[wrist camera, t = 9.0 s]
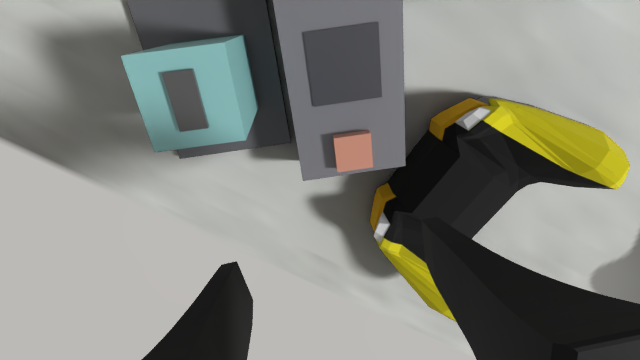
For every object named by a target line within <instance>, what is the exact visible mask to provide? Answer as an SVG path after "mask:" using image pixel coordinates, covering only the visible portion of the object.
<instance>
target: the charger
mask: <svg viewBox="0 0 640 360" xmlns="http://www.w3.org/2000/svg"><path fill="white" fill-rule="evenodd" d="M121 59H122V62H123V64H124V67H125V70H126V73H127V76H128V79H129V81H130V84H131V87H132V90H133V93H134V96H135V98H136V101H137V104H138V107H139V110H140V112H141V115H142V118H143V121H144V124H145V127H146V129H147V132H148V135H149V138H150V141H151V144H152V146H153V149H154V152H161V151H169V150H176V149H184V148H191V147H199V146H206V145H214V144H221V143H229V142H236V141H244V140H246V139H247V136H248V133H249V131H250V128H251V125H252V123H253V120H254V118H255V115H256V112H257V110H258V107H259V106H258V101H257V96H256V91H255V86H254V81H253V76H252V71H251V66H250V61H249V56H248V51H247V45H246V40H245V35H244V34H243V35H235V36H228V37H220V38H212V39H204V40H197V41H189V42H181V43H174V44H168V45H164V46H160V47H156V48H151V49H147V50H143V51H139V52H135V53H131V54H126V55H122V56H121Z"/></svg>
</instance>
